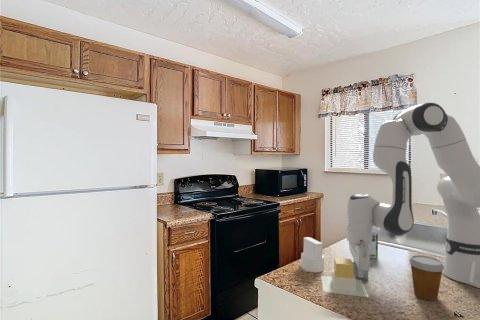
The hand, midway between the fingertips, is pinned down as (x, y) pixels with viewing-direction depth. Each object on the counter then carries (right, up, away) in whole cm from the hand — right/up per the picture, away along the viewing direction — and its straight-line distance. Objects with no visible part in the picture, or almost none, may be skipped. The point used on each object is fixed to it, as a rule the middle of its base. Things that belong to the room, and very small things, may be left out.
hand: (358, 272), depth 102 cm
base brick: (-9, -1, -9) cm, 13 cm away
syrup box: (+15, -2, +22) cm, 27 cm away
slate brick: (0, -2, 0) cm, 2 cm away
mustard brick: (-9, +3, -9) cm, 13 cm away
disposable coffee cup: (+16, -2, -13) cm, 21 cm away
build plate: (-9, -2, -9) cm, 13 cm away
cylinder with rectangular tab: (-16, -2, +6) cm, 17 cm away
